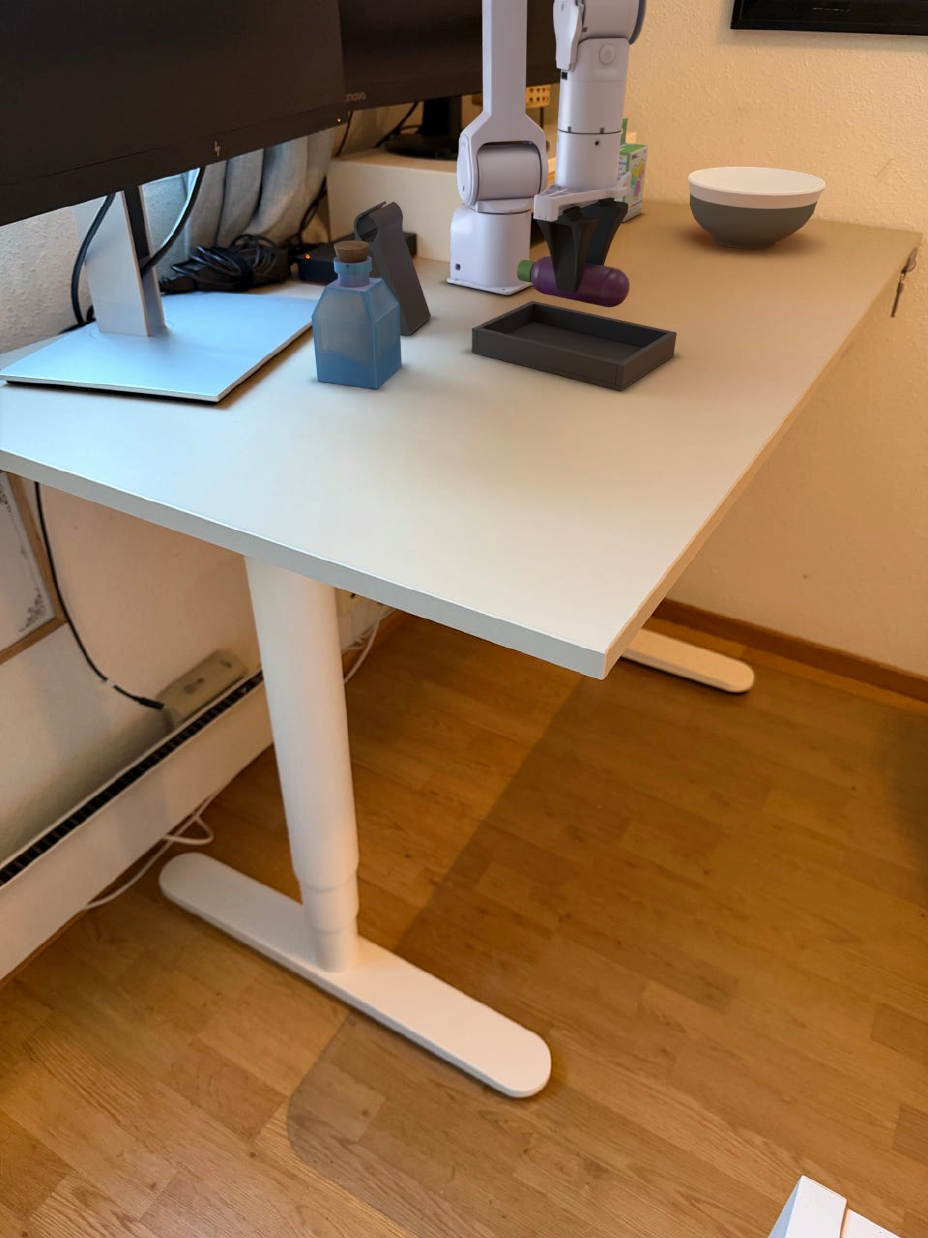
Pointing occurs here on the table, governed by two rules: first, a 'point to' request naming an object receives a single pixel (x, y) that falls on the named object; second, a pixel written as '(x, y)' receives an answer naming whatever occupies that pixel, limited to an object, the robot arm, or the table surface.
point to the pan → (575, 344)
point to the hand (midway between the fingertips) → (577, 285)
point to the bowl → (752, 203)
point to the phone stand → (393, 262)
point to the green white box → (632, 172)
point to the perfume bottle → (356, 323)
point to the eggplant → (594, 288)
